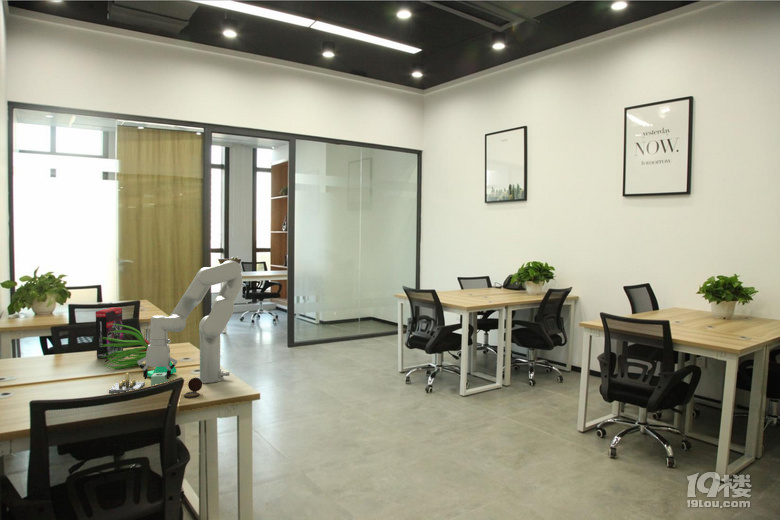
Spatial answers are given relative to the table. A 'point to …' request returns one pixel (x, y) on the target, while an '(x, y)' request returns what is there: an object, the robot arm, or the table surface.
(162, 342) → the robot arm
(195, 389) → the compass
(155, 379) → the pale green block
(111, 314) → the graphics card box
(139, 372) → the table surface
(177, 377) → the table surface
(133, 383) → the chassis
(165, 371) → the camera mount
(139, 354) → the decorative plant
